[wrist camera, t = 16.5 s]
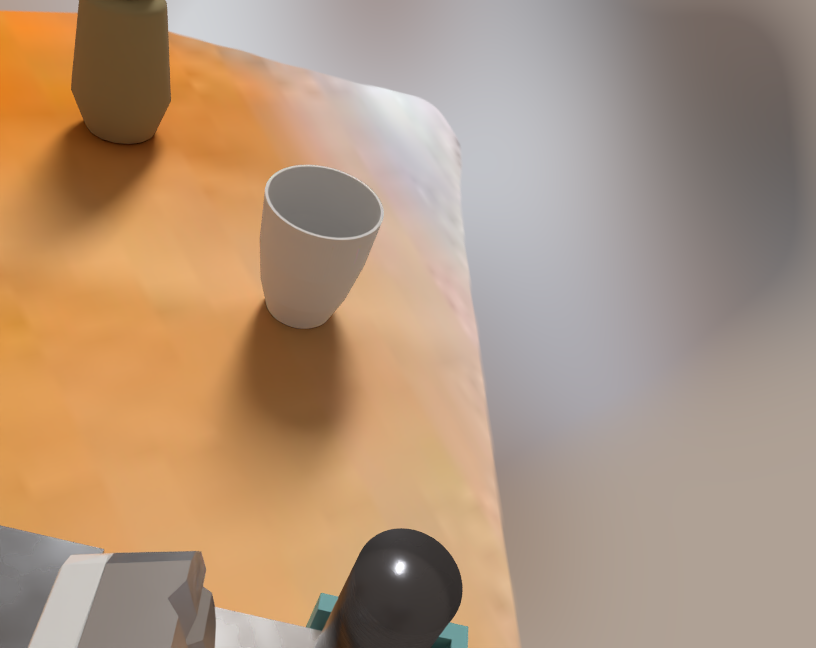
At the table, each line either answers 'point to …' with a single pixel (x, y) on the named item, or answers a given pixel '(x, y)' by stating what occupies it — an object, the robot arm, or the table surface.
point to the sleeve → (29, 580)
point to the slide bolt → (369, 602)
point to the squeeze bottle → (122, 68)
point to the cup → (314, 241)
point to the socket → (448, 644)
